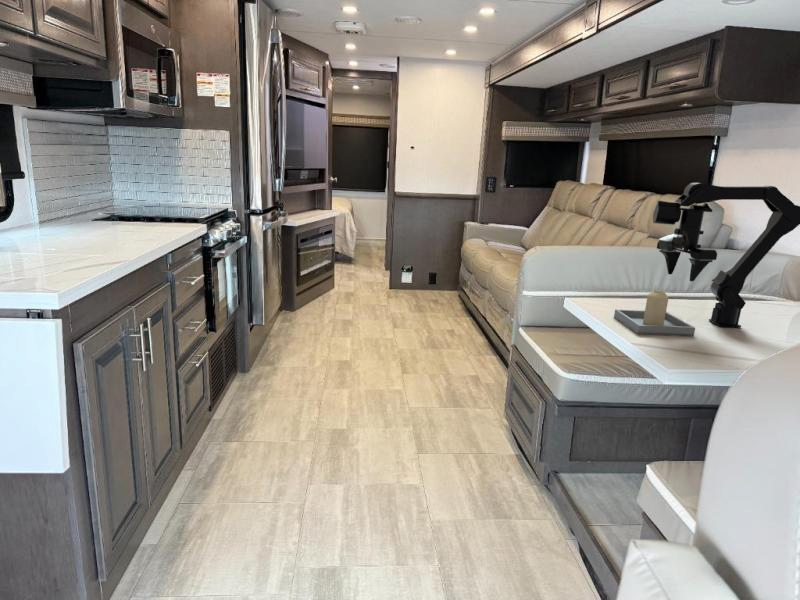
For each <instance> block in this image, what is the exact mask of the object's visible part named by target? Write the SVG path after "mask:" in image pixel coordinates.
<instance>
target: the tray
mask: <svg viewBox="0 0 800 600" xmlns="http://www.w3.org/2000/svg"><path fill="white" fill-rule="evenodd" d="M644 314H645V310H642V309H641V310H638V309H636V310H635V309H615V310H614V314H613V318H614V319H615V320H617V321H618V320H619V323H621V324H623V325H624V326H625V327H627V328H628V329H629V330H631V331H633V332H634V333H636V334H637V335H645V336H646V335H650V336H651V335H652V336H672V335H674V336H675V337H676V336H677V337H678V336H679V337H694V336H695V331H696V327H695V326H693V325H691V324H689V323H687V322H685V321H684V320H682V319H681V318H679V317H678V316H676V315H674V314H671V313H670V312H668V311H666V315H665V320H664V325H663V326H658V325H645V324H644V323H643V319H644Z"/></svg>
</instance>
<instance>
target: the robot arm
mask: <svg viewBox="0 0 800 600" xmlns="http://www.w3.org/2000/svg"><path fill="white" fill-rule="evenodd" d="M722 200H723V201H724V200H728V201H729V200H730V201H732V200H733V201H734V200H739V201H743V200H744V201H746V200H747V201H749V200H750V201H751V200H753V201H755V200H757V201H758V200H759V201H763V202H764V204H765V205H766V207H767V208H768V210H769V211H771V212H772V213H771V215H770V217H769V219H768V221H767V223H766V225H765V229H764V230H763V232H762V233H761V234H760V235H759V236H758V237H757V239H755V241H754V242H753V243H752V244H751V246H749V248H747V250H746V251H745V252H744V254H743V255H742V256H741V258H739V260H738V261H737V262H736V263H735V264H734V266H732V268H730V269H729V270H727V271H724V270H723V269H722V270H721V269H720V271H718V274H717V276H716V277H714V278H713V279H711V282H712V283H711V285H710V291H711V293H712V294H713V295H714V296H715V300H716V301H717V302H715V304H714V305H715V306H714V307H713V309H712V313H711V317H710V318H709V319H708V322H711V323H713V324H714V325H716V326H719V327H722V328H742V325H740V324H739V321H740V317H741V312H742V309H744V307H745V305H746V300H744V299H743V297H741V295H740V293H741V291H742V290H743V288H744V286H745V283H746V279H747V277H748V276H749V275H750V274H751V272H752V271H753V270H754V269H755V268H756V267H757V266H758V264H760V262H761V261H762V260H763V259H764V258H765V256H766V255H767V254H768V253H769V252H770V250H771V249H772V248H773V247H774V246H775V245H776V244H777V243H778V242H779V240H780V239H781V238H783V237H784V236H785V235H787V234H789V233H790V232H792V231H794V229H796V228H797V227H798V226H800V205H795V203H794V202H793V201H791V199H789V198H788V197H787V196H785V194H783V193H782V192H781V191H780V190H779V189H778V188H777V187H776V186H775V185H774V186H773V185H763V186H754V185H752V186H745V185H744V186H743V185H741V186H740V185H739V186H727V185H726V186H720V185H714V184H708V183H707V184H706V183H702V182H690V183H689V184H687V186H685V188H684V191H683V193H682V194H681V195H680V196H679V197H678V198H677V199H676V200H675V201H664V200H662V199H661V200H659V199H658V200H657V201H656V205H655V208H654V210H653V212H652V223H653V224H658V225H659V224H660V225H661V224H662V225H671V226H674V225H676V223H679V227H676V228H675V229H674V232H673V233H672V234H671V233H670V234H668V235H666V236H663V237H660V238H659V239H658V242H657V244H656V245H657V246H656V249H657V250H659V251H658V252H659V253H661V254H662V255H663V256H664V258H665V264H666V268H667V275H672V274H673V273H674V270H675V268H676V266H677V263H678V261H679V257H680V256H681V253H685V254H689V256H690V258H688V260H689V262H690V265H691V266H690V271H689V272H690V273H689V282H694V281H695V280H696V279H697V278H698V276H699V275H700V274H701V273H702V271H703V270H704V269H705V268H706V267H707V266H708V264H710V263H712V262H713V261H716V260H717V257H718V252H717V250H716V249H712V248H707V247H702V244H699V240H700V235H704V232H705V231H704V230H701V229H702V225H703V219H704V215H705V213H712V212H713V209H712V208H711V207H710V205H709V203H712V202H716V201H722ZM701 204H702V205H701Z"/></svg>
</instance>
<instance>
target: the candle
mask: <svg viewBox="0 0 800 600" xmlns="http://www.w3.org/2000/svg"><path fill="white" fill-rule="evenodd" d="M669 299H670V298H669V296H668V295H667V294H666V292H664V291H663V290H659V291H657V290H655V289H653V290H652V291H651V292H649V293H648V294H647V295H646V301H645V309H644V311H645V314H644V319H643V323H644V324H645V325H658V326H663V325H664V320H665V315H666V312H667V308H668V302H669Z"/></svg>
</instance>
